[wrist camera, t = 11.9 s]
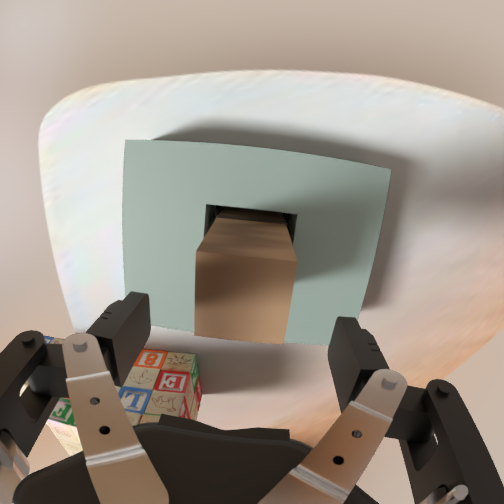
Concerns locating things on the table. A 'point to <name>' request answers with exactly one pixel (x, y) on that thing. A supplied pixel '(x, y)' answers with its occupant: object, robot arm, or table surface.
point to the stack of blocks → (140, 393)
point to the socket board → (253, 197)
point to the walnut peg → (244, 277)
